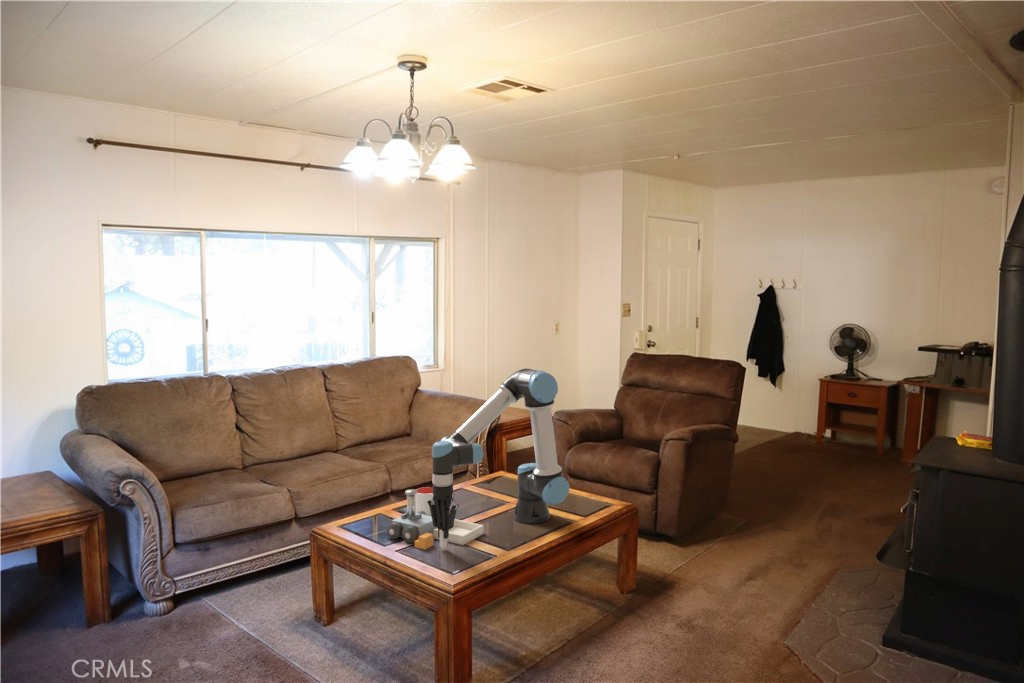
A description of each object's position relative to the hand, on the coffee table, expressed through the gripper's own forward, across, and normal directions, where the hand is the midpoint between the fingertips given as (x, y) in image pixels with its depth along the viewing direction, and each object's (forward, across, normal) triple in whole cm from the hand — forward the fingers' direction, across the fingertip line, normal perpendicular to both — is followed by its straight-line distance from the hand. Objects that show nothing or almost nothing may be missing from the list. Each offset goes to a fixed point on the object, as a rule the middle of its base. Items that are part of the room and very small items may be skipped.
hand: (443, 546), depth 251 cm
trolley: (+1, +20, -8) cm, 21 cm away
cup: (+2, +31, -30) cm, 43 cm away
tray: (+1, +4, -15) cm, 15 cm away
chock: (+2, +9, +1) cm, 9 cm away
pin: (-4, +22, -8) cm, 23 cm away
